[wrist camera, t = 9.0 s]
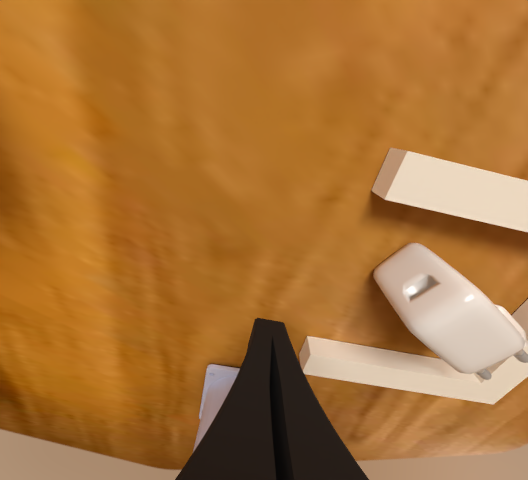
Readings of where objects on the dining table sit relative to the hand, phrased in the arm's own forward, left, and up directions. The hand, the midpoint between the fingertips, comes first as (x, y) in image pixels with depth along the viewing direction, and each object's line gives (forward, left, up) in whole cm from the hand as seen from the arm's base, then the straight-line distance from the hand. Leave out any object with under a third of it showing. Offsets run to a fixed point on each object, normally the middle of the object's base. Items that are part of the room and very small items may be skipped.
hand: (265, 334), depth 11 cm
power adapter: (0, -13, -6) cm, 14 cm away
